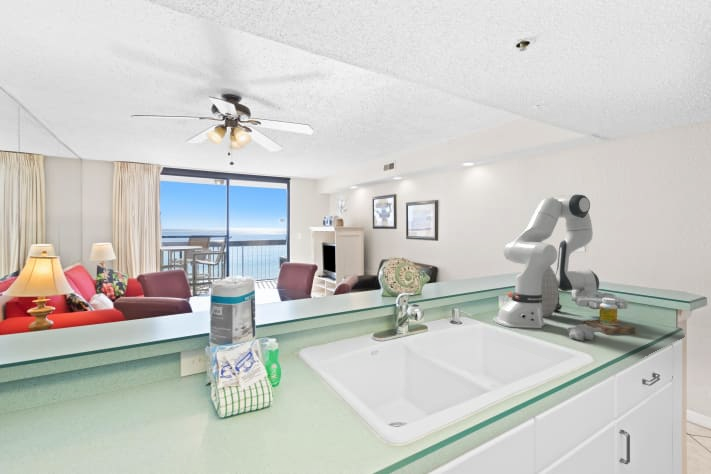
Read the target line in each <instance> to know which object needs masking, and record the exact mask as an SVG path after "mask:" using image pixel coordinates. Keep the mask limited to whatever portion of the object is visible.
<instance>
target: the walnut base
mask: <svg viewBox="0 0 711 474" xmlns="http://www.w3.org/2000/svg"><path fill="white" fill-rule="evenodd" d="M582 321H583V322H582V324H586V325H588V326H591V327H593V328H602V330H603V332H600V334H603V335H604V334H605V335H623V334H625V335H626V334H628V335H629V334H636V327H634V326H632V325H628V324H625V323H622V322H619V321H617V325H605V324H602V323H600V322H599V319H589V320H588V319H587V320H586V319H585V320H582Z"/></svg>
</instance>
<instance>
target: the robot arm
mask: <svg viewBox="0 0 711 474" xmlns="http://www.w3.org/2000/svg"><path fill="white" fill-rule="evenodd" d="M590 208H591V202H590V199H589V198H588V197H587V196H585V194H574V195H571V194H569V195H560V196H559V195H558V196H555V197H545V198H544V199H542V200H541V201H540V202H539V203H538V205H537V206H536V207H535V208H534V209H535V210H534V211H533V213H532V215H531V218H530V220H529V222H528V224H527V225H526V227H525V229H524V230H523V231H522V232H521V233H520V234H519V235H518V236H517V237H516V238H515V239H513V240H512V241H509V242H508V243H507V244H506V245H505V246H504V248H503V256H504V257H505V259H506V260H508V261H509V262H512V263H514V264H522V265H524V269H523V270H522V271H521V272H520V273H518V274H517V275H516V276H515V288H514V290H515V292H514V293H512V292H508V293H507V297H509V298H511V299H510V300H509V301H508V302H507V303H505V304H503V305H502V306H501V307H500V308H499V311H498V315H497V316H494V317H493V321H494V323H496V324H499V325H501V326H504V327H506V328H507V327H508V328H524V329H525V328H526V329H527V328H528V329H529V328H530V329H542V328H543V327H544V326H545V325H546V324H545V321H544V317H543V315H542V307H541V305H542V294H541V287H542V278H543V275H544V273H545V271H546V269H547V268H548V267H549V266H550V267H551V266H552V265H554V264H555V262H556V261H557V263H556V266H557V267H556V271H555V272H556V273H555V275H556V278H557V281H558V290H561V291H563V292H569V291H571V296H572V297H573V298H571V301H573V302H574V303H575V305H577V306H578V307H583V308H589V309H591V310H600V304H601V303H603V302H602V298H612V299H615V303H614V304H615V305H616V306H617V309H618V310H619V309H620V310H623V309H624V310H626V309H628V307H629V302H628V300H627V299H624V298H622V297H619V296H616V295H615V294H614V293H606V292H602V291H599V288H600V279H599V277H598V276H597V274H596V273H595V272H594V271H593V270H591V269H580V270H578V269H577V270H570V271H568V270H569V262H570V256H571V254H572V253H574V252H575V251H577V250H579V249H581V248H584V247H586V246H587V245H588V244H590V243H591V241H592V240H593V235H594V234H593V225H592V219H591V216H590V213H589V212H590ZM560 218H564V219H565V237H564V239H562V241H561V242H560V243H559V248H558V251H557V248H556V247H555V245H553V244H550V243H546V242H544V241H546V240H548V239H549V238H550V237H551V236H552V234H553V232H554V230H555V227H556V226H557V223H558V221H559V219H560Z"/></svg>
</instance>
